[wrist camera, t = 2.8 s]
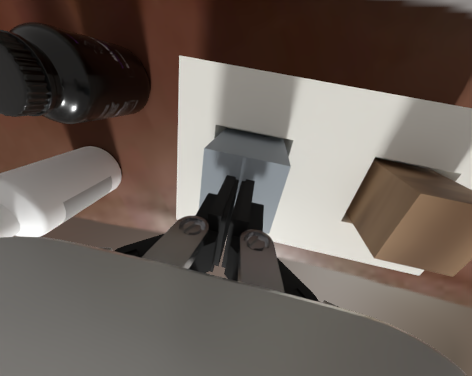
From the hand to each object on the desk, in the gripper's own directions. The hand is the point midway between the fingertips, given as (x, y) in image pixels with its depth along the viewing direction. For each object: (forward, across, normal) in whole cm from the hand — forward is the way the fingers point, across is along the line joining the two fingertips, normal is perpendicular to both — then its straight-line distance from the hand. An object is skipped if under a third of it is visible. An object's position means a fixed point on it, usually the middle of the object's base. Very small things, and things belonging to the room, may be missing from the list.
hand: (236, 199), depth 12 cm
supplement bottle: (+13, +16, -4) cm, 21 cm away
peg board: (+13, -6, 0) cm, 14 cm away
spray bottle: (+13, +21, +8) cm, 26 cm away
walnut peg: (+7, -12, 0) cm, 14 cm away
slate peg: (+7, 0, 0) cm, 7 cm away
